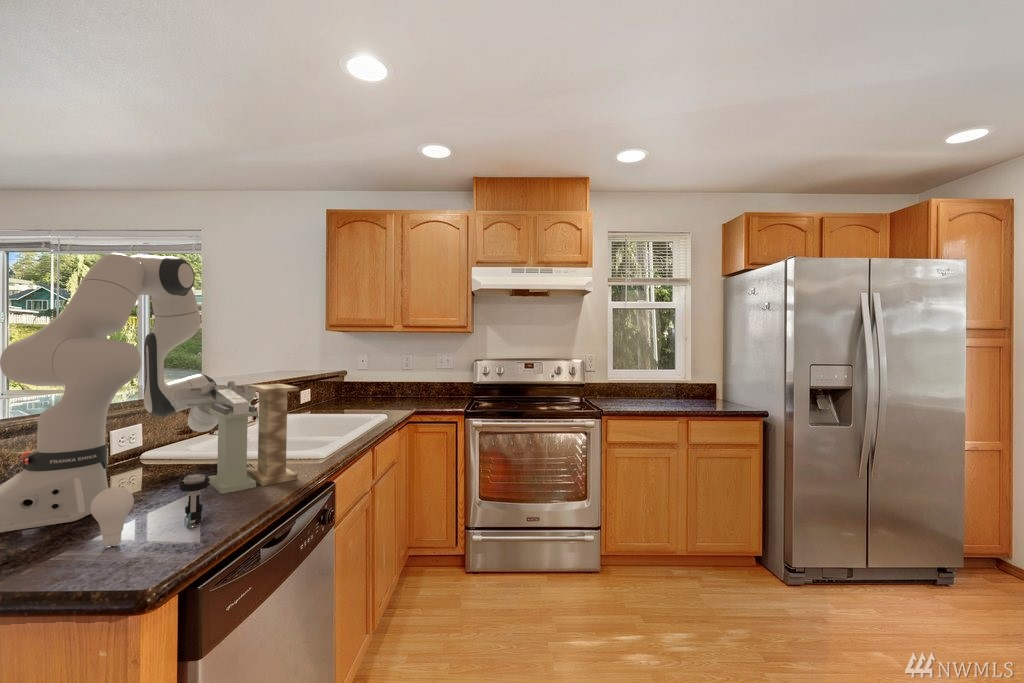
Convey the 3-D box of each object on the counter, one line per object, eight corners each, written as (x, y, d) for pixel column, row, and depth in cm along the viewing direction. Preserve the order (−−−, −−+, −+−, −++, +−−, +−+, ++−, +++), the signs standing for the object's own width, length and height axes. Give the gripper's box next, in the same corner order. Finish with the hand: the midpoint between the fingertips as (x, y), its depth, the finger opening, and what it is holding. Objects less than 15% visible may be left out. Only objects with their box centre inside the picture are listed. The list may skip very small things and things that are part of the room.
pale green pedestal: (221, 494, 114) (222, 409, 114) (208, 481, 124) (209, 403, 124) (256, 487, 120) (257, 406, 120) (240, 476, 130) (242, 401, 130)
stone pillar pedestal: (262, 486, 121) (263, 389, 121) (246, 474, 131) (248, 385, 131) (297, 479, 127) (298, 387, 127) (279, 469, 137) (281, 383, 137)
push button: (207, 527, 93) (208, 479, 94) (175, 532, 91) (176, 483, 91) (209, 517, 99) (210, 471, 99) (179, 521, 96) (180, 474, 97)
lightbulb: (114, 538, 88) (115, 482, 88) (141, 540, 87) (142, 483, 87) (80, 552, 82) (81, 492, 82) (109, 555, 81) (110, 494, 81)
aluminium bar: (233, 414, 115) (233, 403, 115) (210, 395, 133) (210, 385, 133) (248, 413, 118) (249, 402, 117) (223, 394, 136) (224, 384, 135)
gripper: (169, 396, 132) (177, 375, 124) (247, 391, 147) (259, 372, 139) (170, 416, 130) (179, 396, 122) (249, 409, 145) (262, 391, 136)
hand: (222, 384), depth 130 cm, fingers closed on aluminium bar, 3 cm apart
